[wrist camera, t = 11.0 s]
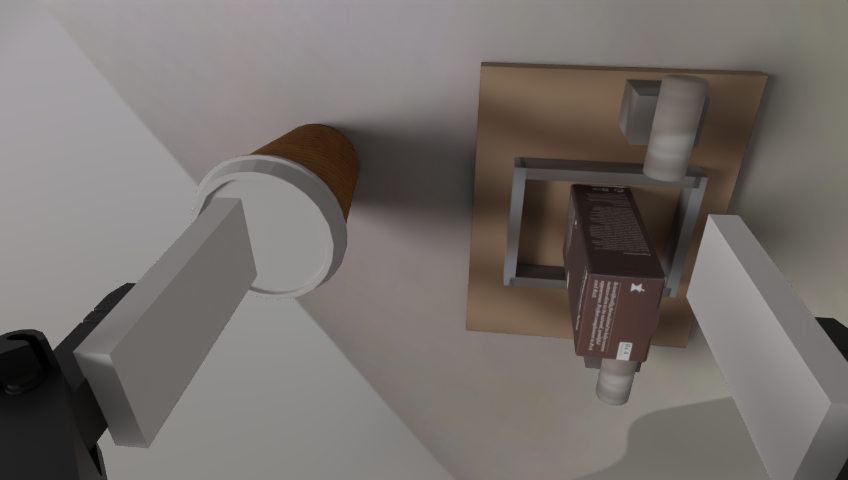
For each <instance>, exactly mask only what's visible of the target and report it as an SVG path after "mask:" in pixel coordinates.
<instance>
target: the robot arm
mask: <svg viewBox="0 0 848 480" xmlns="http://www.w3.org/2000/svg"><path fill="white" fill-rule="evenodd" d="M256 277H257V271H256V266H255V261H254V257H253V252H252V247H251V243H250V238H249V233H248V229H247V224H246V219H245V214H244V210H243V205H242V200H241V198H218V197H216V198H215V199H214V200H213V201H212V202H211V204H210V205H209V206H208V207H207V208H206V209H205V210H204V211H203V212H202V213H201V214H200V215H199V217H198V218H197V219H196V220H195V221H194V222H193V223H192V224H191V225H190V226H189V227H188V228H187V230H186V231H185V232H184V233H183V234H182V235H181V236H180V237H179V238H178V239H177V240H176V241H175V243H174V244H173V245H172V246H171V247H170V248H169V249H168V250H167V251H166V252H165V253H164V254H163V255H162V257H161V258H160V259H159V260H158V261H157V262H156V263H155V264H154V265H153V266H152V267H151V268H150V269H149V271H148V272H147V273H146V274H145V275H144V276H143V277H142V278H141V279H140V280H139V281H138V282H137V283H126V284H124V285H123V286H121V287H119V288H118V289H116V290H115V291H113V292H111V293H110V294H108V295H107V296H106V297H105V298H104V299H103V300H102V301H101V302H100V303H99V304H98V305H97V306H96V307H95V308H94V311H91V312H90V313H89V314H88V315H87V316H86V317H85V318H84V320H83V323H80V324H79V325H78V326H77V327H76V328H75V329H74V330H73V331H72V332H71V333H70V334H69V335H68V336H67V337H66V338H65V339H64V340H63V341H62V342H61V343H60V344H59V345H58V346H57V347H56V348H55V349H54V350H53V351H52V349H51V347H50V345H49V342H48V340H47V338H46V337H45V335H44V334H43V332H40V331H37V330H33V329H28V330H18V331H13V332H9V333H6V334H3V335H1V336H0V480H107V475H106V470H105V466H104V461H103V457H102V452H101V450H100V448H99V446H98V443H97V441H98V439H99V438H100V437H101V435H102V434H103V432H104V431H105V430H106V428H107V427H108V430H109V432H110V434H111V436H112V438H113V440H114V443H115V445H117V446H128V447H140V448H149V446H150V445H151V443H152V442H153V440H154V438H155V437H156V435H157V434H158V432H159V430H160V429H161V427H162V426H163V424H164V422H165V421H166V419H167V418H168V416H169V415H170V413H171V411H172V410H173V408H174V407H175V405H176V403H177V402H178V400H179V399H180V397H181V396H182V394H183V392H184V391H185V389H186V388H187V386H188V385H189V383H190V381H191V380H192V378H193V377H194V375H195V373H196V372H197V370H198V369H199V367H200V365H201V364H202V362H203V361H204V359H205V358H206V356H207V354H208V353H209V351H210V350H211V348H212V346H213V345H214V343H215V342H216V340H217V339H218V337H219V335H220V334H221V332H222V331H223V329H224V327H225V326H226V324H227V323H228V321H229V320H230V318H231V316H232V315H233V313H234V312H235V310H236V308H237V307H238V305H239V304H240V302H241V301H242V299H243V297H244V296H245V294H246V293H247V291H248V289H249V288H250V286H251V285H252V283H253V282H254V280H255V278H256ZM686 297H687V299H688V301H689V304H690V306H691V308H692V310H693V312H694V314H695V317H696V319H697V321H698V323H699V325H700V327H701V330H702V332H703V334H704V336H705V338H706V340H707V343H708V345H709V347H710V349H711V351H712V353H713V356H714V358H715V360H716V362H717V364H718V366H719V369H720V371H721V373H722V375H723V377H724V379H725V382H726V384H727V386H728V388H729V390H730V392H731V394H732V397H733V399H734V401H735V403H736V405H737V407H738V410H739V412H740V414H741V416H742V418H743V420H744V422H745V425H746V427H747V429H748V431H749V433H750V436H751V438H752V440H753V442H754V444H755V446H756V448H757V451H758V453H759V455H760V457H761V459H762V462H763V464H764V466H765V468H766V470H767V472H768V474H769V477H770V479H771V480H848V328H847V327H845V326H844V325H843V324H841V323H840V322H838V321H837V320H835V319H834V318H820V317H814V316H813V315H812V314H811V312H810V311H809V310H808V308H807V307H806V305H805V304H804V303H803V301H802V300H801V299H800V297H799V296H798V295H797V293H796V292H795V291H794V289H793V288H792V287H791V285H790V284H789V283H788V281H787V280H786V278H785V277H784V276H783V274H782V273H781V272H780V270H779V269H778V268H777V266H776V265H775V264H774V262H773V261H772V260H771V258H770V257H769V256H768V254H767V253H766V251H765V250H764V249H763V247H762V246H761V245H760V243H759V242H758V241H757V239H756V238H755V237H754V235H753V234H752V233H751V231H750V230H749V228H748V227H747V226H746V224H745V223H744V222H743V220H742V219H741V218H740V216H739V215H715V214H709V215H708V219H707V222H706V226H705V230H704V233H703V237H702V241H701V244H700V248H699V251H698V255H697V259H696V262H695V266H694V270H693V273H692V277H691V281H690V284H689V288H688V291H687V295H686Z"/></svg>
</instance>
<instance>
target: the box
mask: <svg viewBox="0 0 848 480" xmlns="http://www.w3.org/2000/svg"><path fill="white" fill-rule="evenodd" d="M562 253H563V260H564V268H565V275H566V283H567V289H568V297H569V303H570V313H571V320H572V328H573V335H574V344H575V353H576V355H577V356H585V357H594V358H605V359H616V360H627V361H636V362H645V361H646V360H647V358H648V353H649V349H650V344H651V340H652V336H653V334H654V332H655V330H656V328H657V325H658V321H659V308H660V304H661V300H662V296H663V292H664V288H665V284H666V281H667V278H666V276H665V274H664V271H663V269H662V266H661V263H660V261H659V259H658V256H657V254H656V251H655V249H654V246H653V244H652V241H651V239H650V236H649V234H648V231H647V229H646V227H645V224H644V222H643V219H642V217H641V214H640V211H639V209H638V206H637V204H636V201H635V199H634V197H633V194H632V192H631V189H630V187H624V186H619V185H617V186H612V185H584V184H572V185H571V189H570V198H569V208H568V216H567V226H566V233H565V239H564V245H563V250H562Z"/></svg>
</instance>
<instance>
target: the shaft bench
mask: <svg viewBox="0 0 848 480" xmlns="http://www.w3.org/2000/svg"><path fill="white" fill-rule="evenodd" d="M767 79H768V76H767V75H765V74H763V73H762V72H748V71H719V70H691V69H662V68H633V67H604V66H575V65H546V64H517V63H488V62H482V63H481V75H480V93H479V110H478V127H477V145H476V162H475V180H474V197H473V214H472V232H471V249H470V267H469V284H468V301H467V319H466V330H468V331H481V332H493V333H505V334H518V335H530V336H543V337H555V338H567V339H574V335H573V328H572V320H571V313H570V303H569V297H568V289H567V283H566V275H565V268H564V260H563V253H562V250H563V245H564V239H565V233H566V226H567V216H568V208H569V198H570V189H571V185H572V184H584V185H612V186H617V185H619V186H624V187H630V189H631V192H632V194H633V197H634V199H635V201H636V204H637V206H638V209H639V211H640V214H641V217H642V219H643V222H644V224H645V227H646V229H647V231H648V234H649V236H650V239H651V241H652V244H653V246H654V249H655V251H656V254H657V256H658V259H659V261H660V263H661V266H662V269H663V271H664V274H665V276H666V278H667V281H666V284H665V288H664V292H663V296H662V300H661V304H660V308H659V321H658V325H657V328H656V330H655V332H654V334H653V336H652V340H651V344H650V345H654V346H667V347H679V348H686V344H687V341H688V338H689V334H690V331H691V328H692V325H693V321H694V318H695V314H694V312H693V310H692V308H691V306H690V304H689V301H688V299H687V297H686V295H687V291H688V288H689V284H690V281H691V277H692V273H693V270H694V266H695V262H696V259H697V255H698V251H699V248H700V244H701V241H702V237H703V233H704V230H705V226H706V222H707V219H708V215H709V214H715V215H726V213H727V210H728V207H729V203H730V200H731V197H732V193H733V190H734V187H735V184H736V180H737V177H738V174H739V170H740V167H741V164H742V161H743V157H744V154H745V151H746V148H747V144H748V141H749V138H750V134H751V131H752V128H753V125H754V121H755V118H756V115H757V111H758V108H759V105H760V102H761V98H762V95H763V92H764V88H765V85H766V82H767ZM584 362H585V367H586V368H596V369H600V372H599V377H598V381H597V386H596V394H597V396H598V397H599V398H600V399H601V400H602V401H603V402H605V403H607V404H610V405H623V404H625V403H626V402H627V401H628V398H629V395H630V391H631V387H632V383H633V379H634V375H635V372H639V371H640V367H641V363H642V362H636V361H627V360H616V359H605V358H594V357H585V356H584Z"/></svg>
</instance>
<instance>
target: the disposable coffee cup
mask: <svg viewBox="0 0 848 480" xmlns="http://www.w3.org/2000/svg"><path fill="white" fill-rule="evenodd" d="M358 172H359V164H358V158H357V155H356V153H355V150H354V148H353V147H352V145H351V143H350V142H349V141H348V140H347V139H346V138H345V137H344V136H343V135H342V134H340V133H339V132H338V131H336V130H334V129H332V128H330V127H327V126H323V125H318V124H309V125H303V126H300V127H297V128H296V129H294V130H292V131H291V132H289V133H287V134H285V135H283V136H282V137H280V138H278V139H276V140H274V141H273V142H271V143H269V144H267V145H265V146H263V147H262V148H260V149H258V150H256V151H255V152H253V153H251V154H249V155H242V156H238V157H235V158H232V159H228V160H226V161H224V162H223V163H221V164H219V165H218V166H216V167H214V168H213V169H212V170H211V171H210V172H209V173H208V174H207V175H206V176H205V177H204V178H203V180H202V182H201V183H200V185H199V187H198V189H197V191H196V195H195V199H194V203H193V210H192V219H191V224H192V223H193V222H194V221H195V220H196V219H197V218H198V217H199V215H200V214H201V213H202V212H203V211H204V210H205V209H206V208H207V207H208V206H209V205H210V204H211V202H212V201H213V200H214V199H215V198H216V197H218V198H241V200H242V205H243V210H244V214H245V219H246V224H247V229H248V233H249V238H250V243H251V247H252V252H253V257H254V261H255V266H256V271H257V277H256V278H255V280H254V282H253V283H252V285H251V286H250V288H249V289H248V291H247V293H246V294H250V295H253V296H257V297H261V298H265V299H276V300H279V299H291V298H294V297H297V296H300V295H303V294H305V293H307V292H309V291H311V290H312V289H315V288H317V287H319V286H320V285H322V284H323V283H325V282H326V281H328V280H329V279H330V278H331V277H332V276H333V275H334V274H335V273H336V271H337V269H338V268H339V266H340V265H341V263H342V261H343V257H344V254H345V250H346V247H347V228H346V223H347V218H348V215H349V210H350V206H351V202H352V198H353V193H354V189H355V185H356V181H357V177H358Z"/></svg>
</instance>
